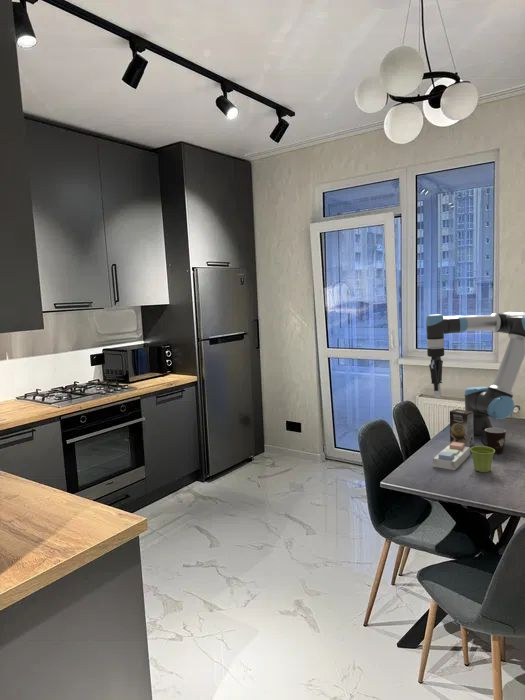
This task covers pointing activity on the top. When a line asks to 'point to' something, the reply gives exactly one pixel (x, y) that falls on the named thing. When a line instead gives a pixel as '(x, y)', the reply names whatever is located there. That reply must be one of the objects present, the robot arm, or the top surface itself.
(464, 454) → the button panel
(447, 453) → the slate button
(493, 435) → the coffee mug
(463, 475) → the top surface
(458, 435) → the coffee box
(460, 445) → the terracotta button
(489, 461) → the plant pot
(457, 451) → the sage button
